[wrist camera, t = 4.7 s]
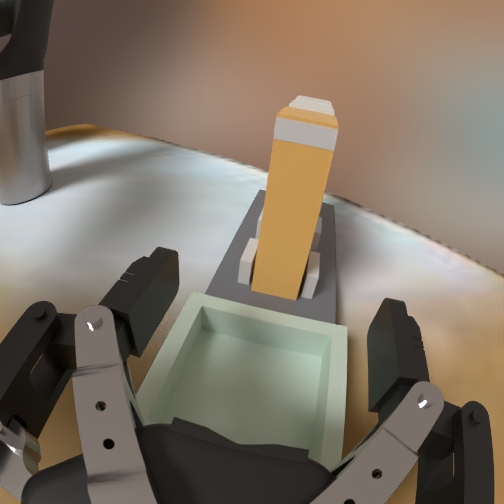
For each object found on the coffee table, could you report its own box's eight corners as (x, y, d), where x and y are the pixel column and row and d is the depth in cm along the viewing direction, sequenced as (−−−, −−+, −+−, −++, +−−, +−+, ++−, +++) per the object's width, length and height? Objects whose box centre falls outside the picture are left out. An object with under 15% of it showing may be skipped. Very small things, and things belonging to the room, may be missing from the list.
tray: (133, 446, 13) (119, 427, 11) (193, 322, 21) (192, 291, 19) (318, 494, 12) (338, 483, 10) (333, 354, 20) (347, 326, 18)
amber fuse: (250, 290, 21) (276, 113, 15) (261, 258, 25) (285, 106, 18) (296, 300, 21) (339, 126, 14) (301, 267, 24) (335, 116, 17)
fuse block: (204, 314, 22) (205, 271, 19) (257, 204, 37) (261, 174, 35) (326, 342, 21) (344, 302, 18) (330, 220, 36) (337, 190, 34)
